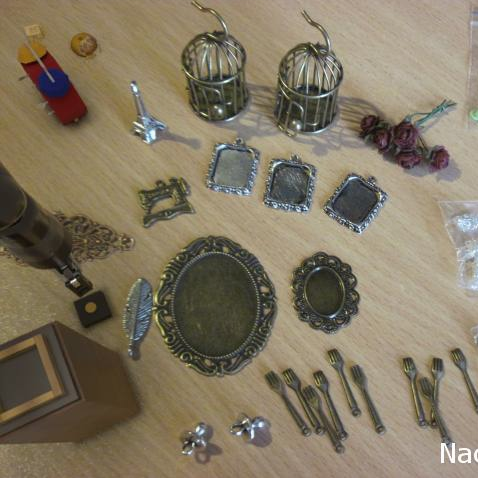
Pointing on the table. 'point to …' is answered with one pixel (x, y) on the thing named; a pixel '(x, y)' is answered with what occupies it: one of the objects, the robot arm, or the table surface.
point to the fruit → (85, 46)
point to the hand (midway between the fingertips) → (73, 268)
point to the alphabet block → (33, 33)
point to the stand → (60, 387)
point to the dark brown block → (92, 309)
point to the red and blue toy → (51, 82)
